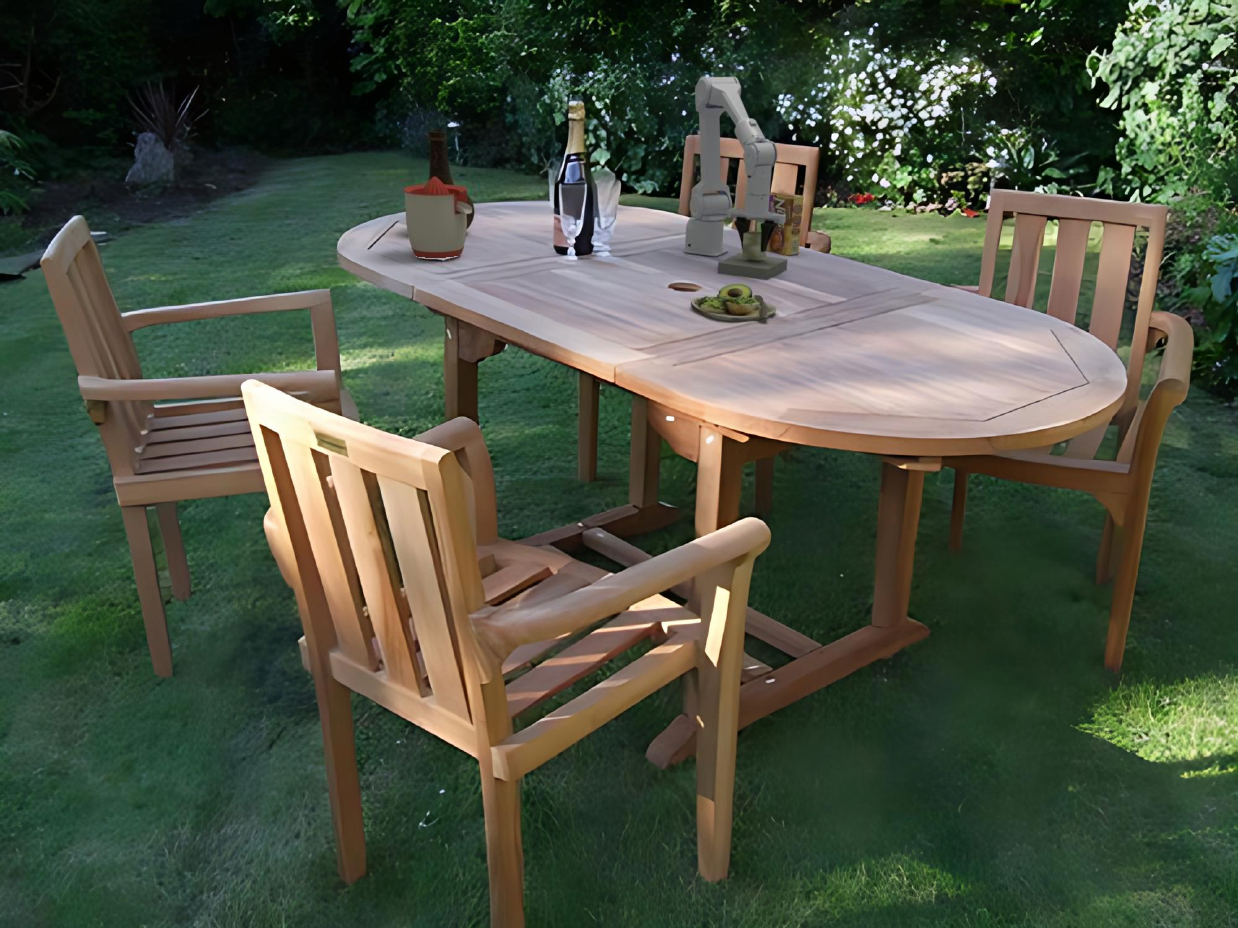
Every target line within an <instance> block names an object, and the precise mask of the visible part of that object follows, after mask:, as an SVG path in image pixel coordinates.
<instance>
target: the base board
mask: <svg viewBox="0 0 1238 928" xmlns="http://www.w3.org/2000/svg"><path fill="white" fill-rule="evenodd" d="M787 269H788V259H787V258H781V257H773V256H766V257H765V258H762V259H760V260H755V259H748V258H742V252H738V253H736V254H734V255H732V256H730V257H728V258H726V259H725V258H724V259H723V260H721V261H718V263H717V273H718V274H725V275H733V276H740V277H745V278H754V279H761V280H769V279H771V278H773V277H775V276H777V275H779V274H780V273H782V272H784V271H786V270H787Z"/></svg>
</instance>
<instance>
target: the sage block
mask: <svg viewBox="0 0 1238 928" xmlns="http://www.w3.org/2000/svg"><path fill="white" fill-rule="evenodd" d="M741 253H742V258H748V259H755V260H760V259H762V258H765V257H767V249H766V251H765V252H761V231H760V230H759V231H758V230H749V231H748V232H746V233H744V237H743V249H742V252H741Z"/></svg>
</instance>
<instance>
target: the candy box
mask: <svg viewBox="0 0 1238 928" xmlns="http://www.w3.org/2000/svg"><path fill="white" fill-rule="evenodd" d="M804 198H805V197H804V195H800V194H799V195H798V194H793V193H788V192H782V191H774V192H770V195H769V209H768V212H772V213H777V214H783V215H786V220H785V223H784V224H779V223H777V226H776V228H775V229H774V231H773V233H772V235H771V237H770V240H769V242H768V246H767V250H766V252H773V253H777V254H781V255H785V256H793V255H794V256H795V255H799V254H800V253H799V252H800V242H801V230H802V220H803V219H802V217H803V208H804Z"/></svg>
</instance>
